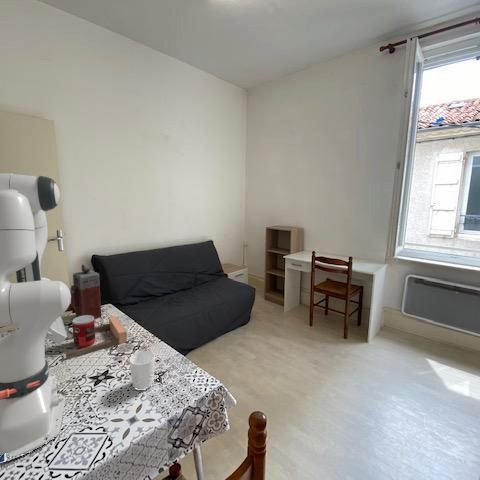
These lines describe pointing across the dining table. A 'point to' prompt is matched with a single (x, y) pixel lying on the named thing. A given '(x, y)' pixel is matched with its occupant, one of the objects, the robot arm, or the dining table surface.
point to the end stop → (118, 329)
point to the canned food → (83, 331)
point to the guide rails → (93, 347)
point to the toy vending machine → (86, 293)
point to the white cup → (142, 369)
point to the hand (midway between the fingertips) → (71, 335)
